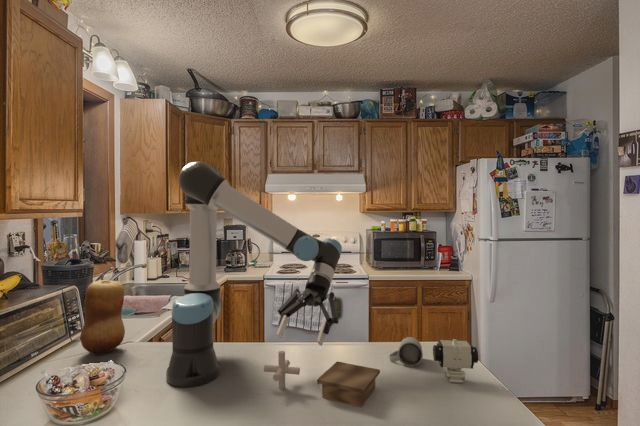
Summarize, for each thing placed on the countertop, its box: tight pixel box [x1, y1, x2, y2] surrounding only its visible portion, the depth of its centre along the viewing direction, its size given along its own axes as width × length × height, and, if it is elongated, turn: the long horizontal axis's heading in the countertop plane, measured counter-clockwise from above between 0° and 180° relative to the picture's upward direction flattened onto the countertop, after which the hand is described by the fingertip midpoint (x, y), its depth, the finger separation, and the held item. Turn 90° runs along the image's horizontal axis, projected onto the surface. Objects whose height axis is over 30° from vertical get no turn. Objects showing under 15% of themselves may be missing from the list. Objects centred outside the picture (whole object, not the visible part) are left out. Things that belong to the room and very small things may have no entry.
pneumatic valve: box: [432, 338, 479, 384], centre depth 108 cm, size 6×12×12 cm, turn 83°
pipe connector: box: [263, 350, 301, 390], centre depth 105 cm, size 10×10×10 cm
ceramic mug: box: [388, 336, 424, 368], centre depth 123 cm, size 11×8×8 cm
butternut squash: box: [79, 279, 126, 356], centre depth 131 cm, size 14×13×25 cm
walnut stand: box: [316, 361, 381, 408], centre depth 102 cm, size 13×13×5 cm
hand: (298, 339), depth 111 cm, fingers open, 13 cm apart
